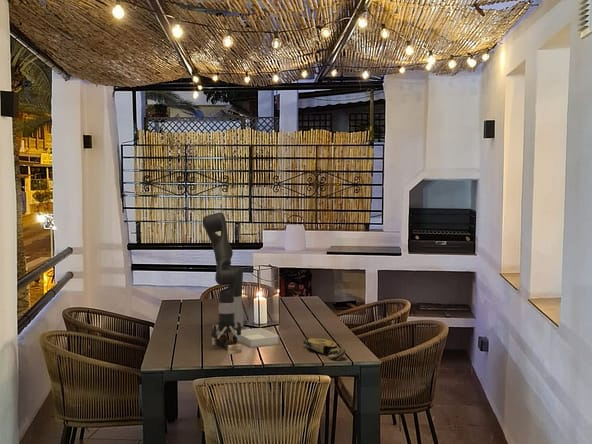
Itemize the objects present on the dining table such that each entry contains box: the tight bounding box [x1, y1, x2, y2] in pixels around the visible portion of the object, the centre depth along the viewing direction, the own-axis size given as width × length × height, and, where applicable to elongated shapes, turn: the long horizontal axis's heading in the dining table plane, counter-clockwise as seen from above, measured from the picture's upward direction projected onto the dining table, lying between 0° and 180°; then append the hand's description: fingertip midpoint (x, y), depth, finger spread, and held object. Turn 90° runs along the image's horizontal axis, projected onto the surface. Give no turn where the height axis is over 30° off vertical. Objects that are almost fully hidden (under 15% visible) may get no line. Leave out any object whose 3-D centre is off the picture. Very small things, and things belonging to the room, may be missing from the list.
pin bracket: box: [211, 336, 242, 355], centre depth 288 cm, size 6×21×4 cm, turn 30°
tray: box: [232, 327, 280, 349], centre depth 302 cm, size 16×21×4 cm
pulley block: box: [302, 337, 346, 360], centre depth 282 cm, size 14×6×30 cm
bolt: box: [219, 333, 235, 351], centre depth 289 cm, size 6×5×15 cm
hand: (226, 345), depth 288 cm, fingers open, 8 cm apart
